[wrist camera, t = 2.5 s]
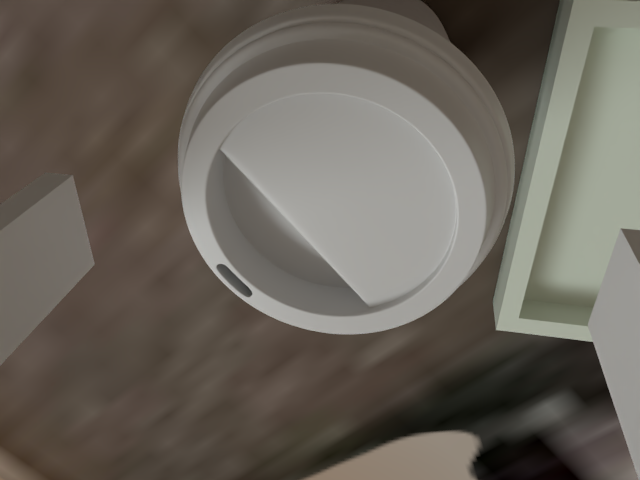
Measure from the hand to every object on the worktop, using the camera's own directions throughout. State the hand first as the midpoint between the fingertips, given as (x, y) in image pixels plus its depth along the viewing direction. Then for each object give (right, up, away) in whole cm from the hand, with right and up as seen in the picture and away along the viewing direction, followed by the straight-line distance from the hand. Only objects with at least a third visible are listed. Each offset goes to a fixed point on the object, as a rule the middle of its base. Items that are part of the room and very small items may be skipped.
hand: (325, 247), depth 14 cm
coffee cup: (+3, +9, +13) cm, 16 cm away
